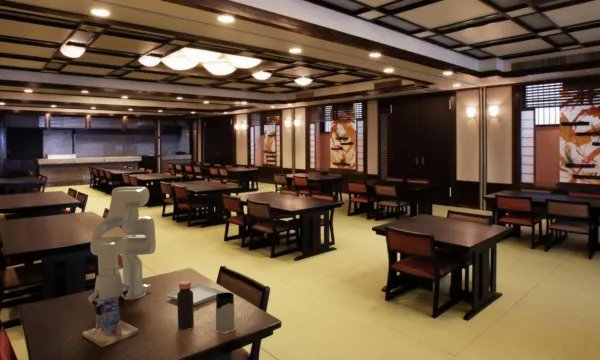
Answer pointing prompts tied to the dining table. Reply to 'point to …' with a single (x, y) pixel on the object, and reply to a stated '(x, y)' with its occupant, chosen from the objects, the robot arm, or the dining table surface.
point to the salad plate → (199, 293)
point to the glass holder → (224, 312)
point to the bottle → (185, 306)
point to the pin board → (103, 340)
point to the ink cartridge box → (109, 316)
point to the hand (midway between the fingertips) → (110, 310)
